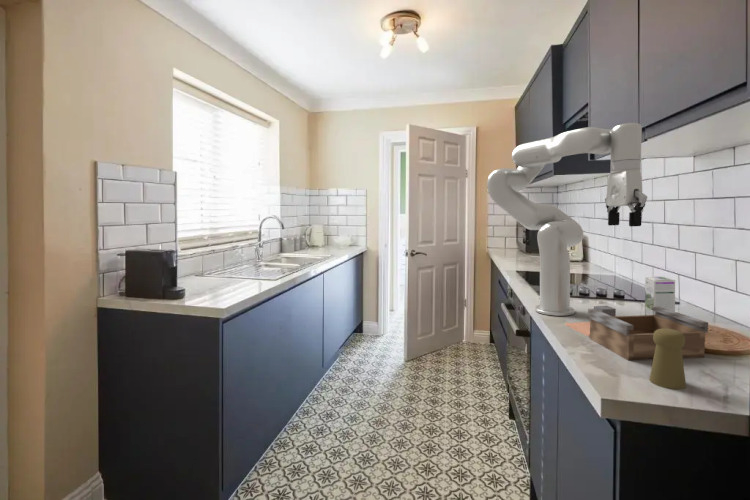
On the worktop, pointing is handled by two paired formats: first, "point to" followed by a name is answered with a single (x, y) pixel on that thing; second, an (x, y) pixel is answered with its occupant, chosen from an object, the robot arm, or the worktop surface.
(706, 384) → the worktop surface
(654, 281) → the syrup box
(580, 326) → the lid
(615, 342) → the box
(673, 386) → the cork
